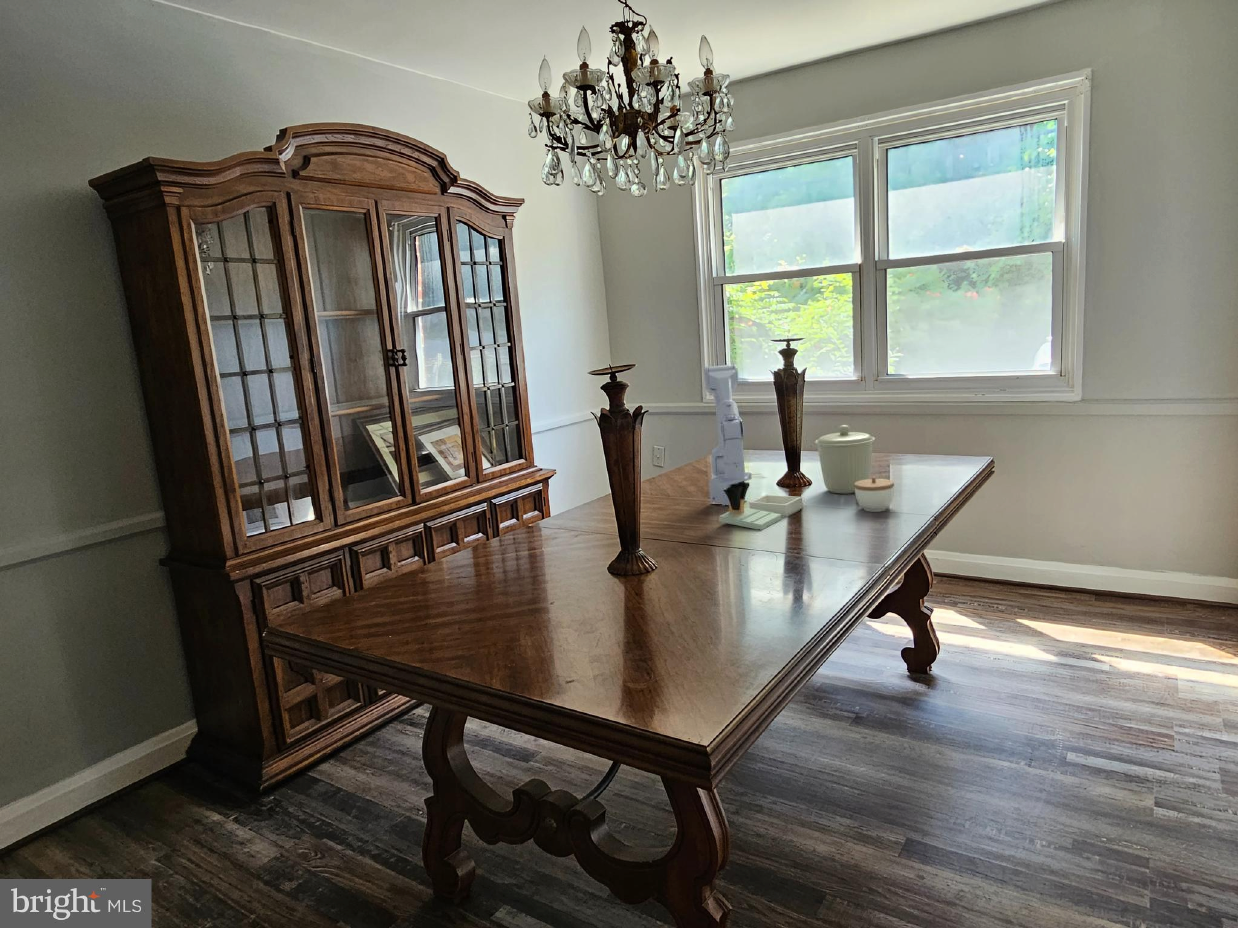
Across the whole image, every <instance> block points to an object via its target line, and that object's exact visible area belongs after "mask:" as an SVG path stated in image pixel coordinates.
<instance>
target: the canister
mask: <svg viewBox="0 0 1238 928" xmlns="http://www.w3.org/2000/svg"><path fill="white" fill-rule="evenodd" d="M850 428H851V427H850V426H849V425H847V424H842V425H839V426H838V429H837V431H838V432H836V433H835V432H834V433H833V432H832V433H829V434H825V435H822V436H820V437H819V438H818V439H816V440H815V441H814V443H815V445H817V449H818V450H817V452H818V456H819V463H820V469H821V472H822V479H823V483H824V486H825V488H826V490H827V491H829V492H830V493H834V494H841V495H843V494H845V495H847V494H855V487H854V483H855V482H857V481H860V480H866V479H871V475H872V474H871V472H872V461H873V459H872V457H873V445H874V444H873V443H874V441H875V440H876V438H875V437H874V436H871V435H870V434H869V433H866V432H857V431H851V429H850Z"/></svg>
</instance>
